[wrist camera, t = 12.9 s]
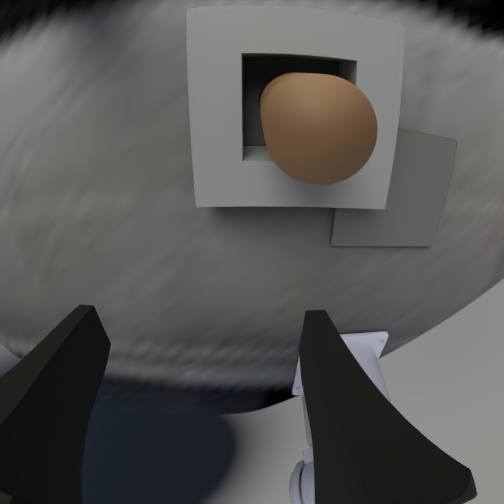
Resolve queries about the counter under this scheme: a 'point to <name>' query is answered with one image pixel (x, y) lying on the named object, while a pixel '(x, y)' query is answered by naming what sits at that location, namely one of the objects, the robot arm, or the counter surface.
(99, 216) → the counter surface
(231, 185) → the socket
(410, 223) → the pad
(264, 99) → the peg
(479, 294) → the counter surface
